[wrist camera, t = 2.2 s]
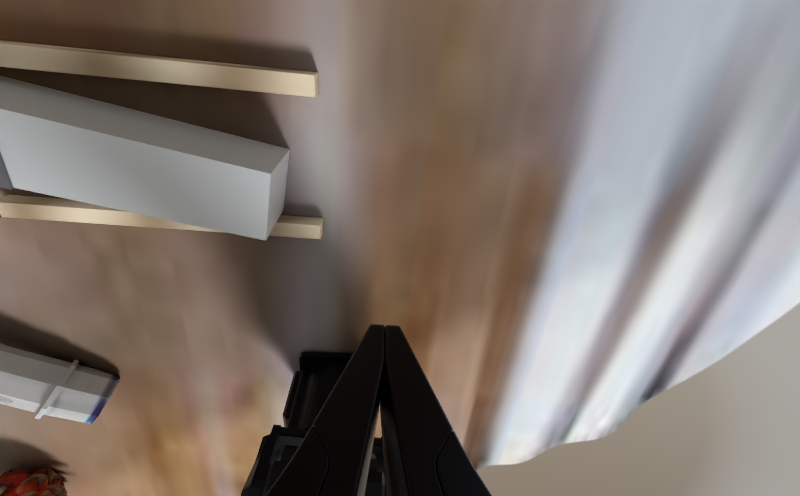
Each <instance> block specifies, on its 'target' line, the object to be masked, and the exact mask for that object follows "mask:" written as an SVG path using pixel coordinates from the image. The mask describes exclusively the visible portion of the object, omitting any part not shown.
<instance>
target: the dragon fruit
mask: <svg viewBox="0 0 800 496" xmlns="http://www.w3.org/2000/svg"><path fill="white" fill-rule="evenodd" d="M13 469H17V468H13ZM13 469H10V470H8V471H6V472H4V473H3V474H2V475H1V476H0V496H67V491H66V489H65V487H64V483H62V482H61V478H60V476H59V475H58V474H57V473H55V472H54V471H53V470H52V469H50V468H45V469H41V470H38V471H36V472H35V473H33V474H28V473H27V472H26V471H25V470H14V471H12V470H13Z"/></svg>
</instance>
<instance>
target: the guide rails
mask: <svg viewBox="0 0 800 496" xmlns="http://www.w3.org/2000/svg"><path fill="white" fill-rule="evenodd" d="M0 67H9V68H19V69H29V70H40V71H50V72H60V73H71V74H81V75H91V76H102V77H112V78H122V79H133V80H143V81H153V82H164V83H174V84H184V85H195V86H205V87H215V88H225V89H236V90H246V91H256V92H267V93H277V94H287V95H298V96H308V97H316V96H317V95H318V94H319V88H318V72H309V71H299V70H289V69H279V68H269V67H259V66H250V65H240V64H230V63H220V62H210V61H200V60H191V59H181V58H171V57H161V56H151V55H141V54H131V53H122V52H112V51H102V50H92V49H82V48H72V47H62V46H53V45H43V44H33V43H23V42H13V41H3V40H0ZM0 214H1V215H2V217H12V218H26V219H40V220H54V221H69V222H83V223H97V224H111V225H125V226H140V227H154V228H168V229H182V230H196V231H210V232H222V231H217V230H213V229H208V228H203V227H198V226H194V225H189V224H184V223H179V222H175V221H170V220H165V219H160V218H156V217H151V216H146V215H141V214H137V213H132V212H127V211H122V210H118V209H113V208H108V207H103V206H99V205H94V204H89V203H84V202H80V201H75V200H70V199H61V198H48V197H35V196H21V195H7V196H5V197H3V198H0ZM225 233H227V232H225ZM322 233H323V218H317V217H303V216H290V215H280V217H279V218H278V220H277V222H276V224H275V225H274V227H273V229H272V231H271V233H270V234H269V236H281V237H296V238H310V239H321V237H322Z"/></svg>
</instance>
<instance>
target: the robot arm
mask: <svg viewBox="0 0 800 496" xmlns="http://www.w3.org/2000/svg"><path fill="white" fill-rule="evenodd" d="M299 361H300V371H296V372H295V373H294V376H293V380H292V383H291V387H290V391H289V394H288V398H287V401H286V405H285V409H284V412H283V419H284V426H285V427H281V425H274V426H273V428H272V431H271V433H270V435H267V436H264V437H263V439H262V442H261V445H260V449H259V452H258V455H257V458H256V461H255V463H254V465H253V468H252V470H251V472H250V474H249V477H248V479H247V481H246V483H245V486H244V488H243V490H242V493H241V496H492V495H491V494H490V492H489V491H488V489H487V488H486V486H485V484H484V483H483V481H482V480H481V478H480V476H479V475H478V473H477V472H476V470H475V468H474V467H473V465H472V463H471V461H470V460H469V458H468V456H467V454H466V452H465V451H464V449H463V447H462V445H461V443H460V441H459V439H458V437H457V436H456V434H455V432H454V431H453V428H452V426H451V424H450V422H449V420H448V418H447V417H446V415H445V413H444V411H443V409H442V407H441V405H440V403H439V401H438V399H437V397H436V395H435V393H434V391H433V389H432V388H431V386H430V384H429V382H428V380H427V378H426V376H425V374H424V372H423V370H422V368H421V366H420V364H419V362H418V361H417V359H416V357H415V355H414V353H413V351H412V349H411V347H410V345H409V343H408V341H407V339H406V337H405V335H404V333H403V332H402V330H401V328H400V327H399V326H395V325H386V326H384V325H377V324H371V325H370V326H369V327H368V329H367V331H366V333H365V334H364V336H363V338H362V339H361V341H360V343H359V345H358V346H357V348H356V350H355V352H354V353H353V354H337V353H317V352H303V353H301V355H300V359H299ZM379 405H380V413H381V427H382V437H381V438H375V437H374V436H375V430H376V424H377V418H378V412H379Z"/></svg>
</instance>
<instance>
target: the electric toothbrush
mask: <svg viewBox="0 0 800 496" xmlns="http://www.w3.org/2000/svg"><path fill="white" fill-rule="evenodd" d="M78 362H79V361H78V360H74V362H73V363H70V362H67V361H63V360H59V359H55V358H51V357H47V356H44V355H40V354H36V353H32V352H28V351H25V350H21V349H17V348H13V347H9V346H6V345H2V344H0V404H4V405H8V406H11V407H15V408H19V409H23V410H27V411H31V412H35V413H38V414H37V416H36V417H35V418H36V419H40V418H41V417H42V416H43V414H44V415H49V416H54V417H59V418H64V419H69V420H74V421H79V422H84V423H89V424H92V423H93V422H94V421H95V419H96V418H97V417H98V416H99V414H100V412H101V411H102V409H103V408H104V406H105V405H106V403H107V402H108V400H109V398H110V397H111V395H112V393H113V391H114V389H115V387H116V386H117V384H118V382H119V379H120V377H117V376H114V375H111V374H108V373H105V372H102V371H99V370H96V369H93V368H89V367H85V366H82V365H78Z"/></svg>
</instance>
